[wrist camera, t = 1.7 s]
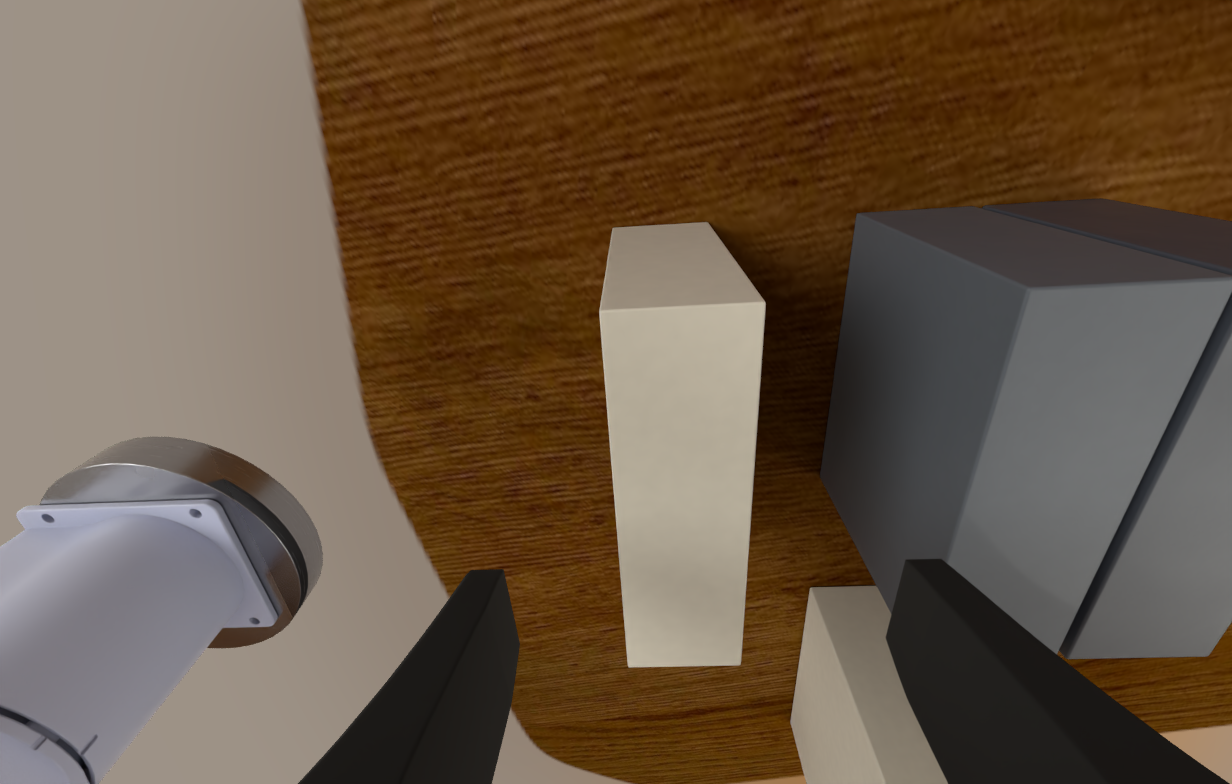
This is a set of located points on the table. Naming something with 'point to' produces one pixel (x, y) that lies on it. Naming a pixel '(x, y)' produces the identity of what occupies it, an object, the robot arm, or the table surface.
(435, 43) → the table surface
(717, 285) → the white book
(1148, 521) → the grey book
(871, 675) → the white book
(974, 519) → the grey book
